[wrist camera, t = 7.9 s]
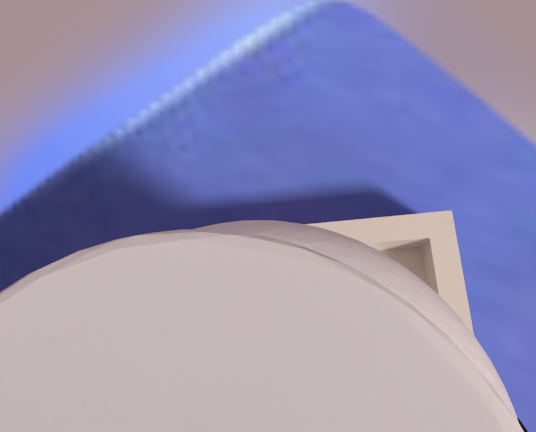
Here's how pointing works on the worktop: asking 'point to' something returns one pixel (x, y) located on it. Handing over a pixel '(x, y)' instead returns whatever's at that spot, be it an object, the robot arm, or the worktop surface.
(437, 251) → the tray
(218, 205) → the worktop surface
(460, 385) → the supplement bottle
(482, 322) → the worktop surface
